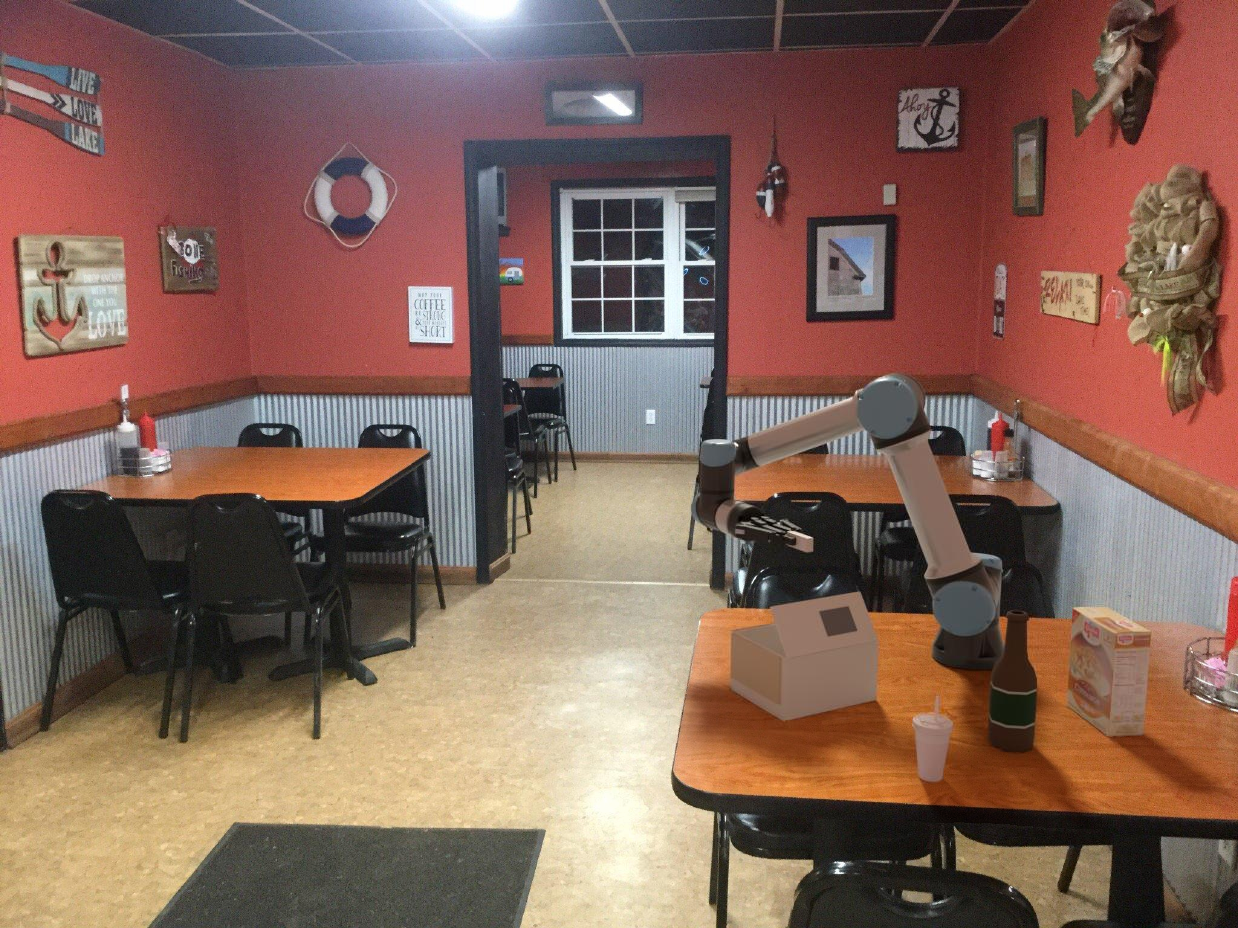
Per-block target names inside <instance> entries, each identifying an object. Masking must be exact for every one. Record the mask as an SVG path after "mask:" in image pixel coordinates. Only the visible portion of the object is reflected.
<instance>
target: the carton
mask: <svg viewBox="0 0 1238 928" xmlns="http://www.w3.org/2000/svg"><path fill="white" fill-rule="evenodd" d="M879 642H880V641H879V640H878V641H875V642H870V643H865V644H859V645H854V646H849V647H844V648H839V649H834V650H829V651H824V652H819V653H814V654H809V655H804V656H799V657H794V658H789V659H787V657H786V655H785V652H784V649H783V646H782V643H781V640H780V637H779V634H778V631H777V628H776V625H775V622H771V623H770V622H769V623H765V624H759V625H753V626H748V627H743V628H737V629H736V628H735V629H731V631H730V677H729V678H730V687H729V690H731V691H732V692H734V693H736V694H738V695H739V696H741V697H742V698H744V699H746V700H748V701H749V702H751V703H753V704H754V705H755V706H758V707H759V708H761V709H762V710H763V711H766V712H767V713H769V714H771V715H772V716H774V717H776V718H778V720H780V721H782V722H787V721H792V720H795V719H796V720H797V719H800V718H804V717H805V718H806V717H808V716H812V715H813V716H814V715H817V714H822V713H825V712H830V711H835V710H838V709H843V708H847V707H848V708H849V707H852V706H856V705H860V704H861V705H862V704H864V703H869V702H874V701H877V696H878V669H879V668H878V667H879V666H878V665H879V664H878V663H879ZM786 720H787V721H786Z"/></svg>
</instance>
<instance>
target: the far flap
mask: <svg viewBox="0 0 1238 928" xmlns="http://www.w3.org/2000/svg"><path fill="white" fill-rule="evenodd" d="M769 610H770V613H771V615H772V616H771V617H772V619H773V621H774V622H773V623H775V625H776V628H777V631H778V634H779V637H780V640H781V643H782V646H783V649H784V652H785V655H786V657H787V659H789V658H794V657H799V656H804V655H809V654H814V653H819V652H824V651H829V650H834V649H839V648H844V647H849V646H854V645H859V644H865V643H870V642H875V641H879V638H878V635H877V634H876V630H875V627H874V625H873V622H872V620H871V616H870V614H869V611H868V609H867V607H866V604H865V601H864V598H863V594H862V593H861V591H855V592H849V593H844V594H837V595H836V594H835V595H831V596H826V597H819V598H812V599H808V600H802V601H795V602H789V603H784V604H777V605H773V606H770V607H769Z"/></svg>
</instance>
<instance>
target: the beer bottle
mask: <svg viewBox="0 0 1238 928" xmlns="http://www.w3.org/2000/svg"><path fill="white" fill-rule="evenodd" d="M1005 618H1006V619H1007V623H1006V628H1005V629H1006V631H1005V640H1004V650H1003V654H1002V656H1001V657H1000V658H999V659H998V660H997V662H996V663H995V665H994V667H993V669H991V674H990V675H991V676H990V683H989V685H990V686H989V687H990V688H989V700H988V701H989V703H988V718H987V719H988V722H987V725H988V726H987V738H988V741H989V743H990V746H991V747H993V748H996V749H997V750H1001V751H1003V752H1007V753H1008V752H1009V753H1022V754H1023V753H1025V752H1027V751H1030V750H1032V749H1033V747H1034V743H1035V734H1036V733H1035V732H1036V731H1035V730H1036V716H1037V715H1036V714H1037V700H1038V676H1037V674H1036V670H1035V669H1034V666H1033V665H1032V663H1031V661H1030V660H1029V655H1028V654H1029V653H1028V621H1030V618H1029V614H1028V613H1027V612H1026V611H1023V610H1017V609H1013V610H1009V611H1007V612H1006V614H1005Z"/></svg>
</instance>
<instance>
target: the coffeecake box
mask: <svg viewBox="0 0 1238 928" xmlns="http://www.w3.org/2000/svg"><path fill="white" fill-rule="evenodd" d="M1071 619H1072V620H1071V633H1070V634H1071V635H1070V647H1069V660H1068V661H1069V662H1068V663H1069V664H1068V676H1067V677H1068V679H1067V692H1066V693H1067V696H1066V704H1065V705H1066V706H1067V707H1068V708H1070V709H1071V710H1073V711H1074V713H1076V714H1077V715H1079V716H1080V717H1082V718H1083V719H1084V720H1086V721H1087V722H1088V723H1089V724H1091V725H1092V726H1093V727H1094V728H1096V729H1098V731H1100V732H1102V733H1103V734H1104V735H1105V734H1106V735H1105V736H1106V737H1108V738H1109V737H1111V738H1113V736H1117V737H1126V736H1129V737H1131V736H1134V737H1135V736H1143V735H1144V731H1145V729H1144V728H1145V727H1144V726H1145V720H1146V719H1145V718H1146V717H1145V716H1146V704H1147V703H1146V701H1147V694H1148V693H1147V690H1148V677H1149V666H1150V664H1149V663H1150V652H1151V642H1152V641H1151V639H1152V631H1151V630H1149V629H1147V628H1145V627H1143V626H1141V625H1140V624H1138V623H1136V622H1134V621H1133V620H1131V619H1130V618H1127V617H1125V616H1124V615H1122V614H1120V613H1118V612H1117V611H1115V610H1113V609H1111V608H1109V607H1107V606H1095V607H1093V606H1077V607H1076V606H1075V607H1072V617H1071Z"/></svg>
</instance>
